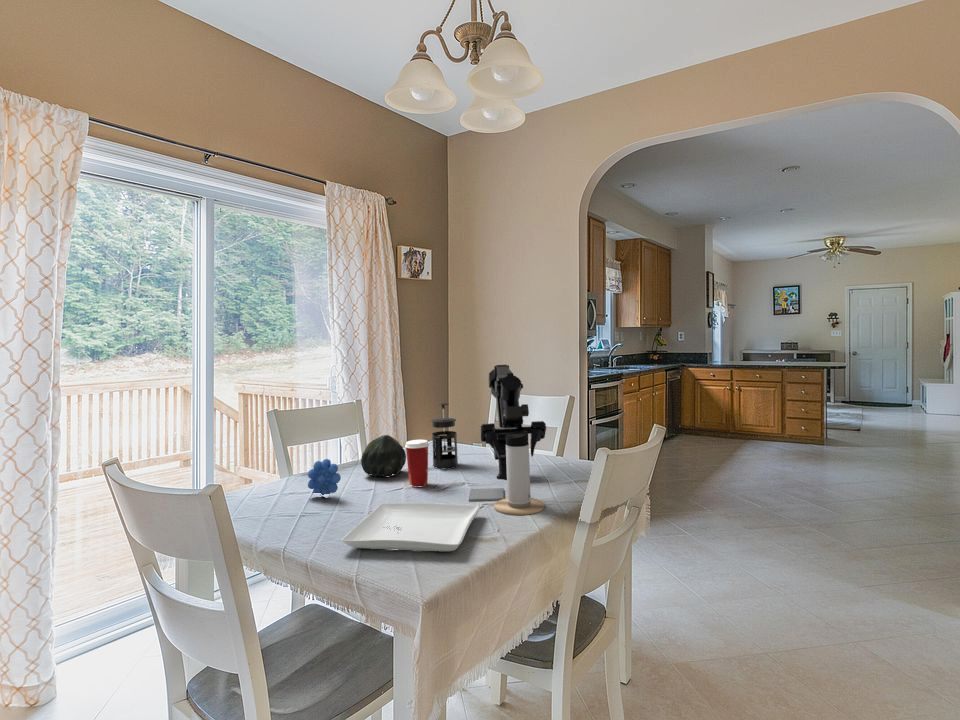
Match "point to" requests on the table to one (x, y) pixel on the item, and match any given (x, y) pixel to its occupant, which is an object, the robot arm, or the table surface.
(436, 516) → the square plate
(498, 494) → the stone coaster
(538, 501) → the cork trivet
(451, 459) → the french press
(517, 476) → the travel mug
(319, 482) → the blue lobed thick disc
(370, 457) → the squash
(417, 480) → the paper cup
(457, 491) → the table surface
